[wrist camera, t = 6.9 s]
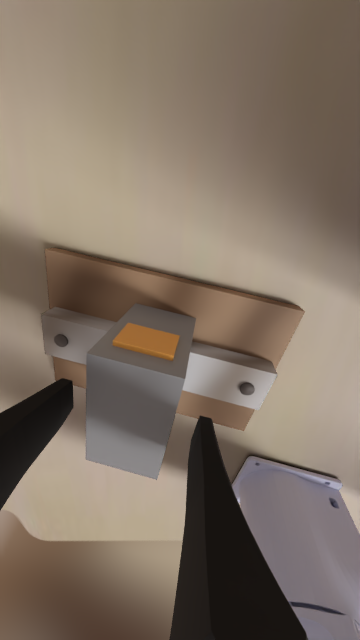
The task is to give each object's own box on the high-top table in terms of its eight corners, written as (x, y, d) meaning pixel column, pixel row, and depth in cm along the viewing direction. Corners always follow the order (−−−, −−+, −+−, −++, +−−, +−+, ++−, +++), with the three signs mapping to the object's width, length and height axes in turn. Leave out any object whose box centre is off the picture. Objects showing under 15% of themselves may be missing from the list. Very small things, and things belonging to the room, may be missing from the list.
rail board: (299, 306, 14) (316, 322, 12) (242, 421, 20) (246, 449, 17) (54, 247, 15) (24, 252, 13) (62, 373, 20) (41, 393, 18)
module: (197, 314, 15) (186, 373, 9) (174, 398, 18) (157, 479, 12) (136, 299, 15) (86, 347, 9) (125, 385, 19) (85, 459, 13)
